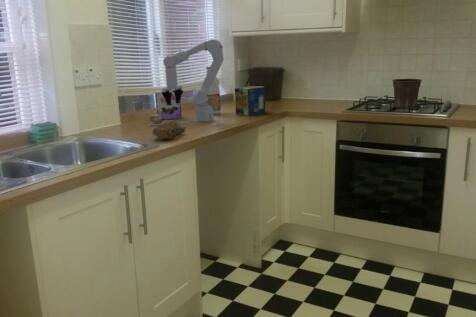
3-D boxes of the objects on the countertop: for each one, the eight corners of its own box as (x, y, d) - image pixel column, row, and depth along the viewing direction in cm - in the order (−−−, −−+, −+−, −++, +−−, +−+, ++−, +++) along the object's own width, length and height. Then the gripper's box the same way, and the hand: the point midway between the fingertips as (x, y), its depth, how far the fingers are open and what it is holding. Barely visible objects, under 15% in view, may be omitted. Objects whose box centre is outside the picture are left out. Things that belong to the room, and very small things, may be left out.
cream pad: (164, 123, 238) (164, 122, 238) (156, 125, 233) (156, 124, 233) (156, 122, 241) (156, 122, 241) (148, 124, 236) (148, 124, 236)
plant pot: (424, 108, 256) (426, 80, 252) (396, 109, 256) (397, 81, 252) (414, 105, 272) (415, 78, 268) (387, 106, 272) (388, 79, 268)
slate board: (191, 123, 241) (191, 121, 241) (168, 128, 226) (168, 127, 226) (168, 121, 250) (168, 120, 249) (145, 126, 235) (145, 125, 235)
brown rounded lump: (168, 135, 216) (141, 134, 199) (172, 119, 215) (144, 117, 198) (190, 142, 210) (164, 142, 193) (194, 126, 209) (168, 124, 192)
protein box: (235, 114, 264) (234, 88, 261) (253, 111, 275) (252, 85, 271) (248, 116, 257) (247, 88, 254) (266, 112, 268) (265, 86, 264)
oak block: (162, 123, 238) (161, 114, 237) (156, 124, 234) (155, 115, 233) (156, 122, 240) (155, 114, 239) (150, 124, 237) (149, 115, 236)
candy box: (157, 121, 253) (155, 91, 249) (156, 119, 258) (154, 90, 254) (182, 119, 256) (179, 90, 252) (180, 117, 262) (178, 89, 258)
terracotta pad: (174, 121, 244) (174, 120, 244) (167, 122, 240) (167, 122, 240) (166, 120, 248) (166, 120, 248) (158, 122, 243) (158, 121, 243)
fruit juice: (202, 113, 273) (199, 67, 266) (215, 112, 278) (213, 66, 271) (210, 115, 265) (207, 67, 258) (223, 113, 270) (221, 66, 263)
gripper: (174, 77, 249) (176, 102, 252) (156, 80, 237) (159, 105, 240) (184, 77, 245) (186, 102, 248) (166, 80, 233) (169, 106, 237)
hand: (173, 104), depth 244 cm, fingers open, 7 cm apart
